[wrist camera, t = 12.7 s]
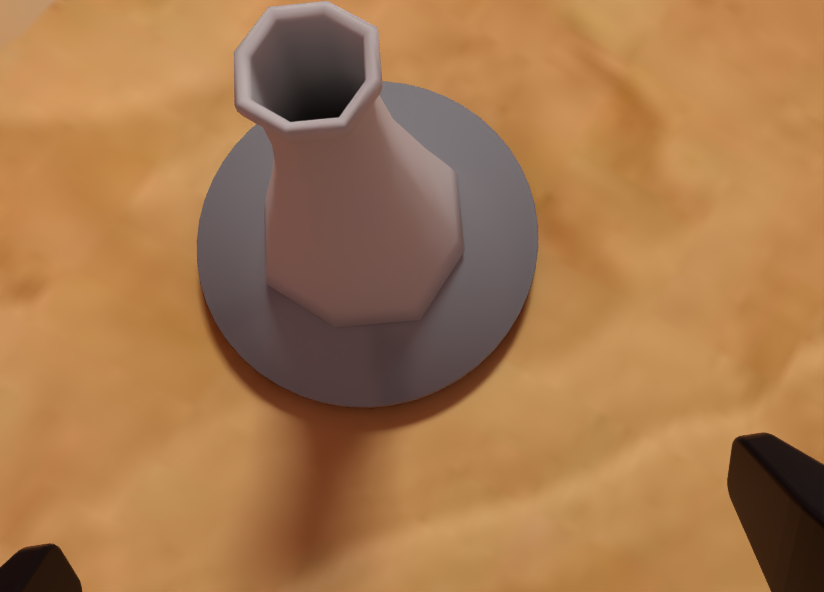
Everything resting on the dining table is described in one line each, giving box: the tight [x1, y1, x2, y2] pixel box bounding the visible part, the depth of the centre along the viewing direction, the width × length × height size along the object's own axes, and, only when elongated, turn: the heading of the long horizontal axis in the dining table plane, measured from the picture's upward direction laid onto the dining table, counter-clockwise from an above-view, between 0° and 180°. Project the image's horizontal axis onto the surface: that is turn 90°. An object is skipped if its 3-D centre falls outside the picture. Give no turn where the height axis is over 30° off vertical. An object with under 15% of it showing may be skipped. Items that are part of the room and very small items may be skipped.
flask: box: [234, 1, 465, 327], centre depth 19 cm, size 7×7×10 cm
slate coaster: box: [197, 81, 538, 408], centre depth 24 cm, size 12×12×1 cm
